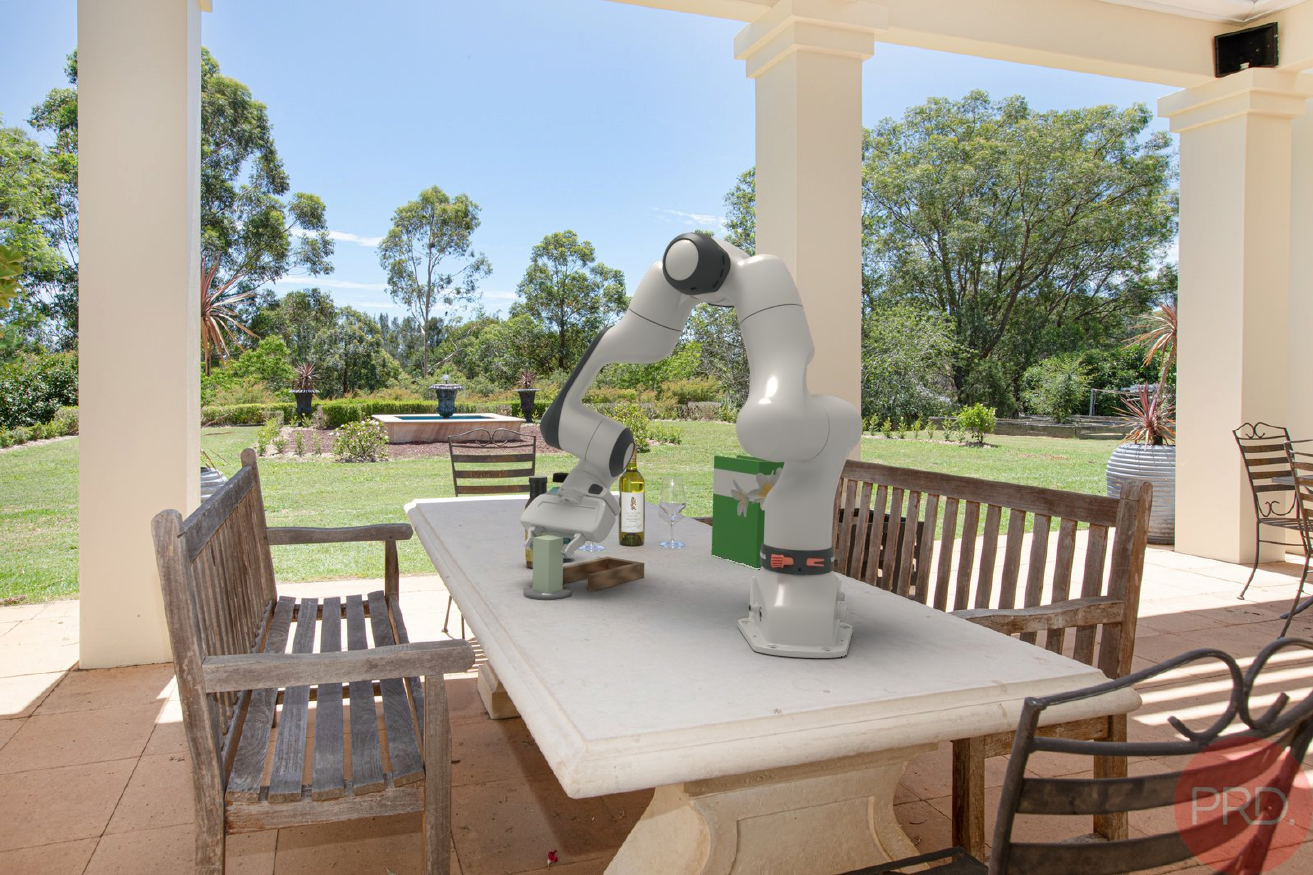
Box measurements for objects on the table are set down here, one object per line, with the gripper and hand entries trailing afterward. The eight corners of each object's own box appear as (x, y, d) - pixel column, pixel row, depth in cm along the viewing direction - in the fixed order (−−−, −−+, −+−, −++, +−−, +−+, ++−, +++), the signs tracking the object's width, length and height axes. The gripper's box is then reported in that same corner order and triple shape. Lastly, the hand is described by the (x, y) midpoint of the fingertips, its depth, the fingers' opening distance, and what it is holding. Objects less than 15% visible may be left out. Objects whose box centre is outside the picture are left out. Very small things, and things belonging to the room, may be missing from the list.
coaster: (565, 600, 156) (565, 596, 156) (517, 598, 157) (517, 594, 157) (575, 589, 165) (575, 585, 165) (530, 587, 166) (530, 583, 166)
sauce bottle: (556, 564, 189) (558, 475, 188) (550, 570, 183) (552, 478, 181) (527, 563, 189) (529, 474, 188) (520, 568, 183) (522, 477, 182)
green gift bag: (711, 555, 203) (714, 455, 202) (736, 553, 207) (739, 455, 206) (756, 570, 188) (759, 461, 187) (782, 567, 192) (785, 461, 190)
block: (546, 586, 164) (547, 535, 163) (562, 589, 162) (563, 537, 161) (532, 590, 161) (533, 537, 160) (548, 593, 158) (549, 540, 158)
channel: (607, 570, 184) (607, 556, 184) (644, 577, 178) (644, 562, 178) (554, 583, 170) (555, 568, 170) (593, 591, 165) (593, 575, 164)
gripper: (535, 481, 172) (499, 535, 165) (614, 489, 160) (578, 548, 153) (550, 501, 176) (515, 554, 168) (628, 511, 164) (594, 569, 157)
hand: (546, 551), depth 160 cm, fingers open, 8 cm apart
